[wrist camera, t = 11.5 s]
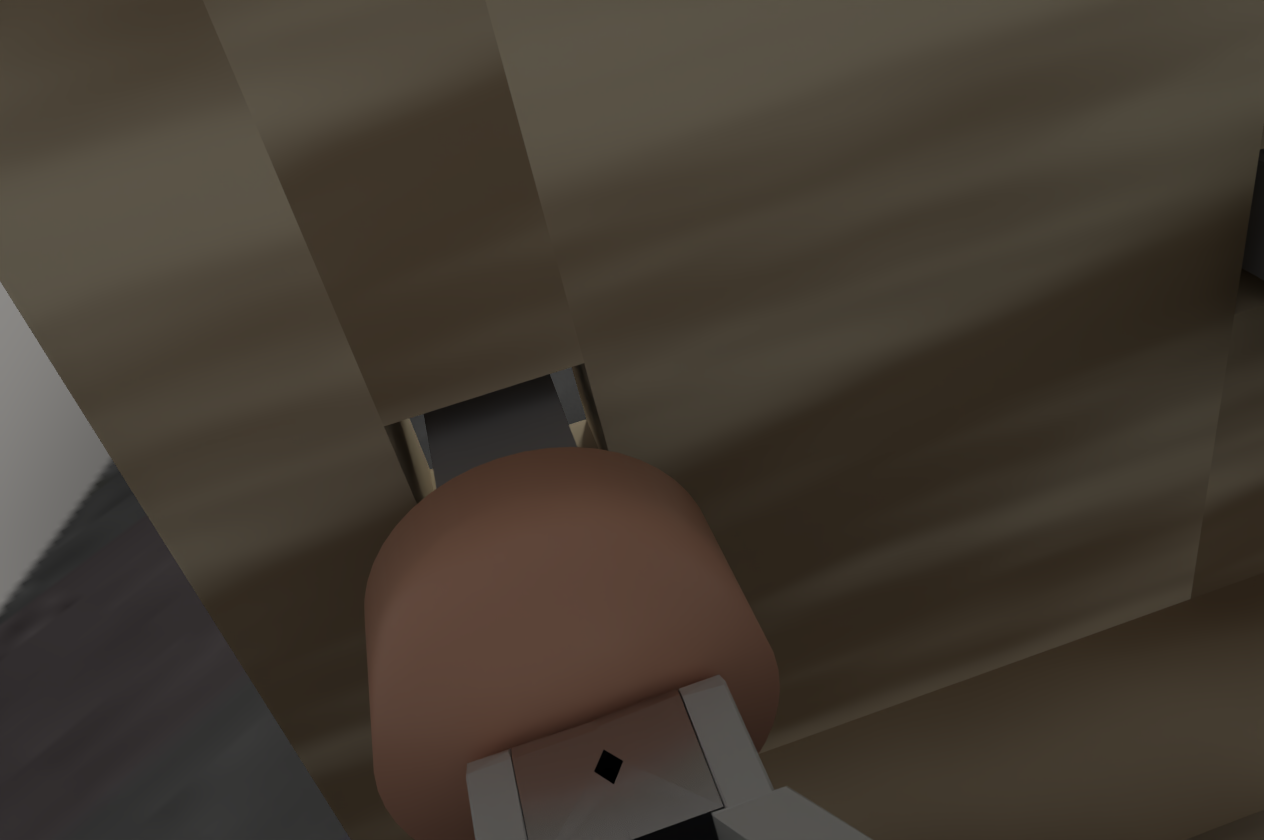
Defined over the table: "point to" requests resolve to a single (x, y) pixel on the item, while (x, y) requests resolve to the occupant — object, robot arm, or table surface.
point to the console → (705, 349)
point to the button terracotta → (539, 603)
